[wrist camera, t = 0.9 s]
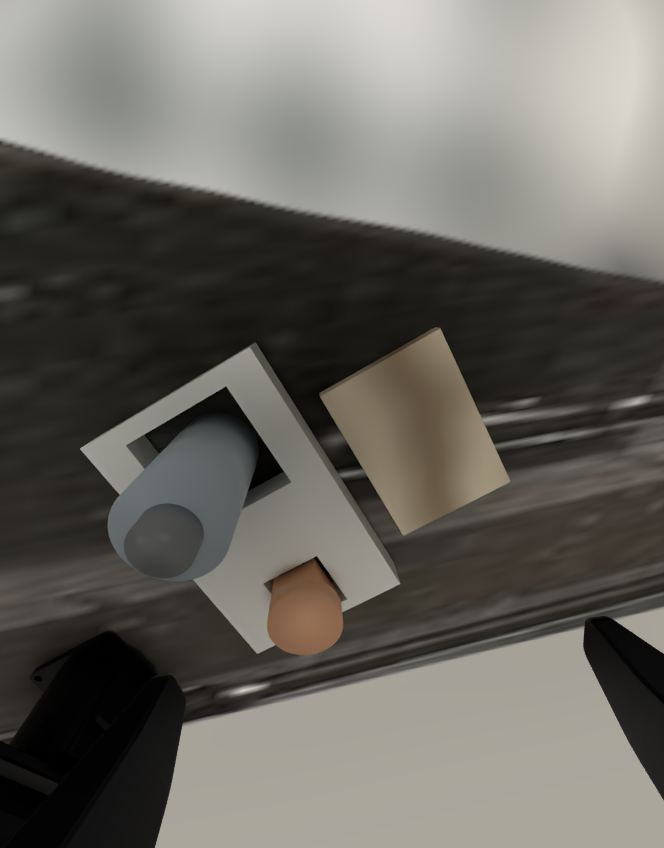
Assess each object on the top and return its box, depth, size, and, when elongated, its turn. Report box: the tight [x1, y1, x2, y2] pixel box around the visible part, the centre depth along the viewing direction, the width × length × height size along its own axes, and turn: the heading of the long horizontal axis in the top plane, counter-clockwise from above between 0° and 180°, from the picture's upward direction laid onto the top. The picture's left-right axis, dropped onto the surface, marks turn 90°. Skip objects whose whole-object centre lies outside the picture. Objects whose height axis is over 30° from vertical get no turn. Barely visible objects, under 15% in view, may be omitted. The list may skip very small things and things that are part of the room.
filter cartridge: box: [108, 412, 259, 582], centre depth 17 cm, size 4×4×9 cm
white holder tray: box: [80, 342, 400, 654], centre depth 22 cm, size 10×16×2 cm, turn 30°
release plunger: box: [267, 559, 343, 655], centre depth 22 cm, size 4×4×3 cm
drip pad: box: [320, 327, 510, 536], centre depth 22 cm, size 7×10×1 cm
